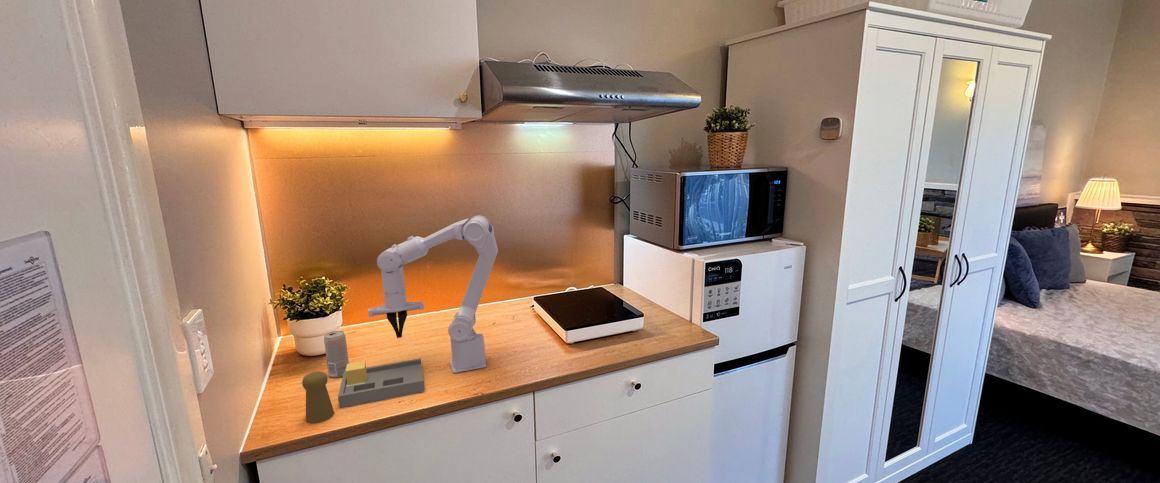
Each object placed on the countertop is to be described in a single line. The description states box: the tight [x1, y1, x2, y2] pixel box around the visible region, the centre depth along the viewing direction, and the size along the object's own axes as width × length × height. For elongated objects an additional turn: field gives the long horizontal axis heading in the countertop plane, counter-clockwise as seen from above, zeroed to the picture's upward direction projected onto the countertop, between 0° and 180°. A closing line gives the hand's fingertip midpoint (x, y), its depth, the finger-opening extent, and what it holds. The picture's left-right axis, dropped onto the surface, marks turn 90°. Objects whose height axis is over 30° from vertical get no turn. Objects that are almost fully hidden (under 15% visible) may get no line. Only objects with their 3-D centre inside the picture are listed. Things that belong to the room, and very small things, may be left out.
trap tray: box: [337, 357, 425, 409], centre depth 125 cm, size 20×14×3 cm
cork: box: [301, 370, 335, 425], centre depth 111 cm, size 6×6×11 cm
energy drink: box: [323, 330, 350, 379], centre depth 131 cm, size 5×5×12 cm
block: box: [345, 360, 367, 385], centre depth 124 cm, size 4×4×4 cm
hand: (399, 336), depth 133 cm, fingers closed
